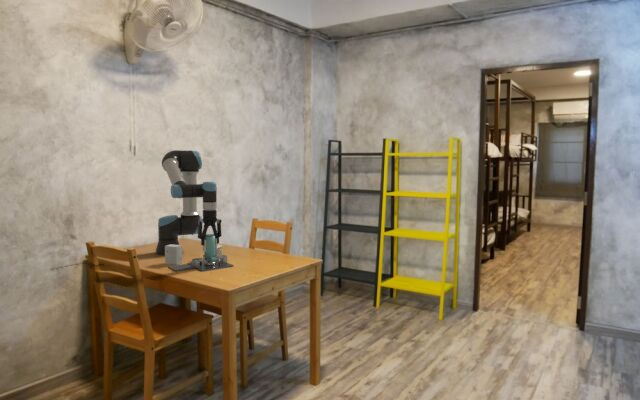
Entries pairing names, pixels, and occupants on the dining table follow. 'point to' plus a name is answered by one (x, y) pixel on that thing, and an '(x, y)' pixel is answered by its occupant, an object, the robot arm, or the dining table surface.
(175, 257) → the small box
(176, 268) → the mat
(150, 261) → the dining table surface
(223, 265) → the bayonet base
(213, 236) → the teal tall rounded piece
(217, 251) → the container
